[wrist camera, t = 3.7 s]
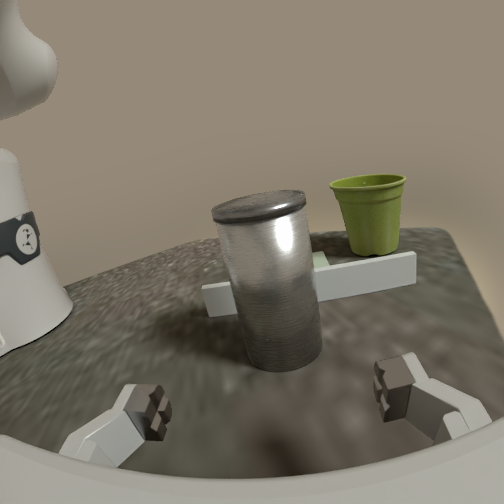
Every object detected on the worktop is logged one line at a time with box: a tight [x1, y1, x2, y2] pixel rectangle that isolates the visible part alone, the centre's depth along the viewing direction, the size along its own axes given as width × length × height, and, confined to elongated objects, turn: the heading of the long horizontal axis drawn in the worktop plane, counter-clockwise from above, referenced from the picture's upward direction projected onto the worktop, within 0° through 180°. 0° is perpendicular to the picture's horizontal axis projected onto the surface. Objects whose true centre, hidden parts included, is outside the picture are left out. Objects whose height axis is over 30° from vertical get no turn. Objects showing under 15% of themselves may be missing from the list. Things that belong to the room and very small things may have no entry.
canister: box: [211, 190, 323, 372], centre depth 21 cm, size 6×6×11 cm
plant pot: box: [329, 174, 406, 256], centre depth 36 cm, size 9×9×9 cm
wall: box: [201, 251, 416, 317], centre depth 28 cm, size 20×1×3 cm, turn 86°
